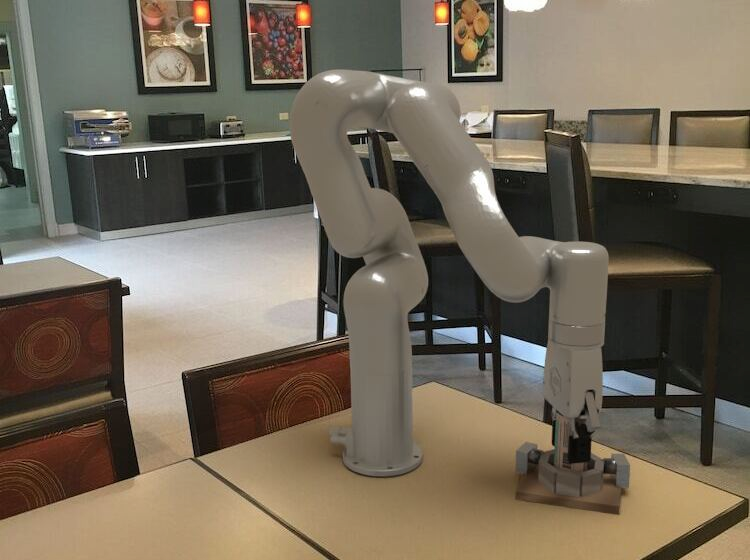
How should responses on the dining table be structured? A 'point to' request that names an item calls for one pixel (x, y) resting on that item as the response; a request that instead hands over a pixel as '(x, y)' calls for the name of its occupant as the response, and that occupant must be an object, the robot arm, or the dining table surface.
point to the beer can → (565, 445)
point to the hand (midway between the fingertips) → (570, 452)
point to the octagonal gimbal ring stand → (570, 486)
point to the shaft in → (527, 458)
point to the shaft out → (618, 470)
